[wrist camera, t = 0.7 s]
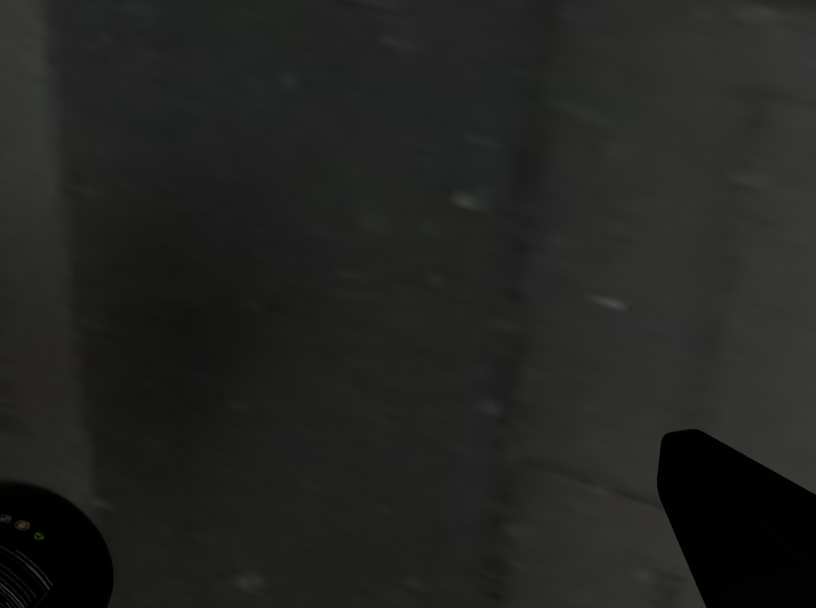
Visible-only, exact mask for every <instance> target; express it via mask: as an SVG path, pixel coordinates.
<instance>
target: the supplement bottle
mask: <svg viewBox="0 0 816 608" xmlns="http://www.w3.org/2000/svg"><path fill="white" fill-rule="evenodd" d="M112 590H113V566H112V561H111V557H110V553H109V551H108V548H107V546H106V544H105V542H104V540H103V538H102V536H101V534H100V533H99V531H98V530H97V529H96V527H95V526H94V525H93V524H92V522H91V521H90V520H89V519H88V518H87V517H86V516H85V515H84V514H83V513H82V512H80V511H79V510H78V509H77V508H75V507H74V506H73V505H71V504H70V503H68V502H66V501H65V500H63V499H61V498H59V497H57V496H55V495H52V494H49V493H47V492H43V491H40V490H36V489H30V488H22V487H9V488H0V608H107V606H108V604H109V601H110V598H111V594H112Z"/></svg>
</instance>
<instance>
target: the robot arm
mask: <svg viewBox="0 0 816 608" xmlns="http://www.w3.org/2000/svg"><path fill="white" fill-rule="evenodd" d="M657 488H658V493H659V497H660V500H661V502H662V505H663V507H664V509H665V512H666V514H667V516H668V519H669V521H670V523H671V526H672V528H673V531H674V533H675V535H676V538H677V540H678V542H679V545H680V547H681V549H682V552H683V554H684V556H685V559H686V561H687V564H688V566H689V568H690V571H691V573H692V575H693V578H694V580H695V582H696V585H697V587H698V589H699V592H700V594H701V596H702V599H703V601H704V603H705V605H706V607H707V608H816V495H815V494H814V493H812V492H810V491H808V490H806V489H805V488H803V487H801V486H799V485H797V484H796V483H794V482H792V481H790V480H788V479H787V478H785V477H783V476H781V475H780V474H778V473H776V472H774V471H772V470H771V469H769V468H767V467H765V466H763V465H762V464H760V463H758V462H756V461H754V460H753V459H751V458H749V457H747V456H746V455H744V454H742V453H740V452H738V451H737V450H735V449H733V448H731V447H729V446H728V445H726V444H724V443H722V442H720V441H719V440H717V439H715V438H713V437H712V436H710V435H708V434H706V433H704V432H702V431H700V430H697V429H688V430H681V431H675V432H669V433H667V434H665V435H664V436H663V438H662V441H661V447H660V456H659V465H658V475H657Z"/></svg>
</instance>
